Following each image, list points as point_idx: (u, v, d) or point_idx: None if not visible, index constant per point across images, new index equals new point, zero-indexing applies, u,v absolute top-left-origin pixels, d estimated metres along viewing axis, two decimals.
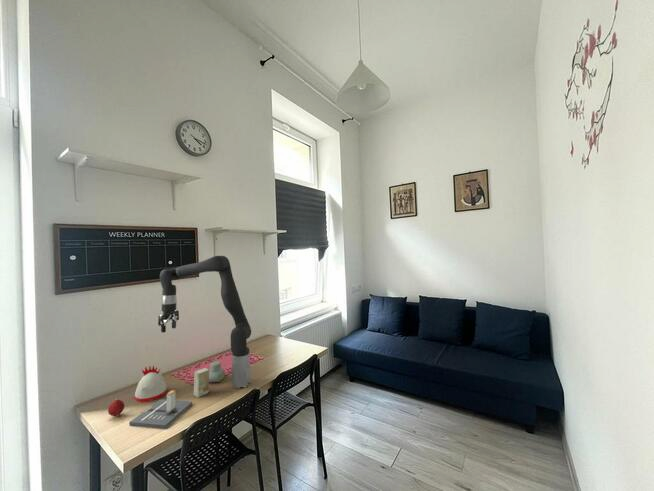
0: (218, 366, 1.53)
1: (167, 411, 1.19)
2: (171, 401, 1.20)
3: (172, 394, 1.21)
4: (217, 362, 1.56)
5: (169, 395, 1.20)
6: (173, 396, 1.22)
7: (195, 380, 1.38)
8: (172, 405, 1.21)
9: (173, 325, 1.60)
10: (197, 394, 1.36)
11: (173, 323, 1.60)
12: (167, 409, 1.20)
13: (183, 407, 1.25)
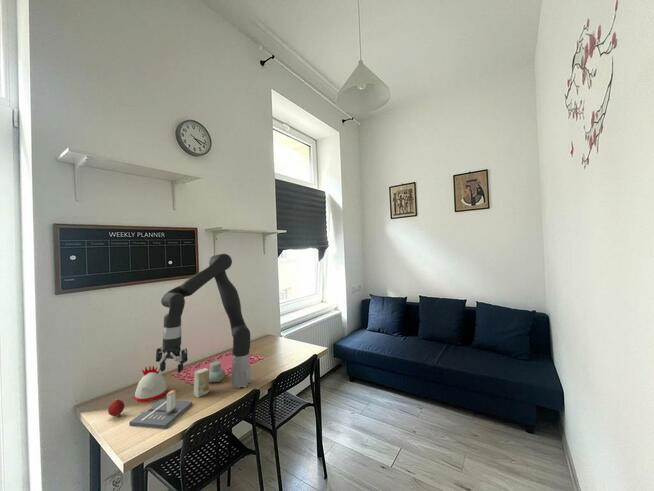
0: (218, 366, 1.53)
1: (167, 411, 1.19)
2: (171, 401, 1.20)
3: (172, 394, 1.21)
4: (217, 362, 1.56)
5: (169, 395, 1.20)
6: (173, 396, 1.22)
7: (195, 380, 1.38)
8: (172, 405, 1.21)
9: (163, 367, 1.23)
10: (197, 394, 1.36)
11: (163, 364, 1.23)
12: (167, 409, 1.20)
13: (183, 407, 1.25)
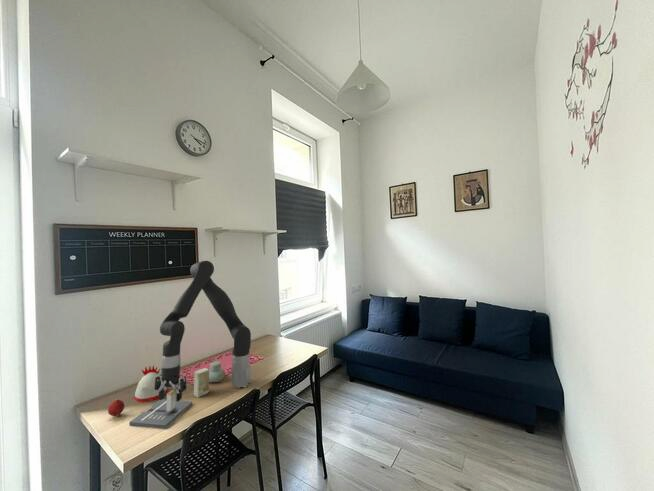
0: (218, 366, 1.53)
1: (167, 411, 1.19)
2: (171, 401, 1.20)
3: (172, 394, 1.21)
4: (217, 362, 1.56)
5: (169, 395, 1.20)
6: (173, 396, 1.22)
7: (195, 380, 1.38)
8: (172, 405, 1.21)
9: (162, 395, 1.22)
10: (197, 394, 1.36)
11: (162, 392, 1.22)
12: (167, 409, 1.20)
13: (183, 407, 1.25)
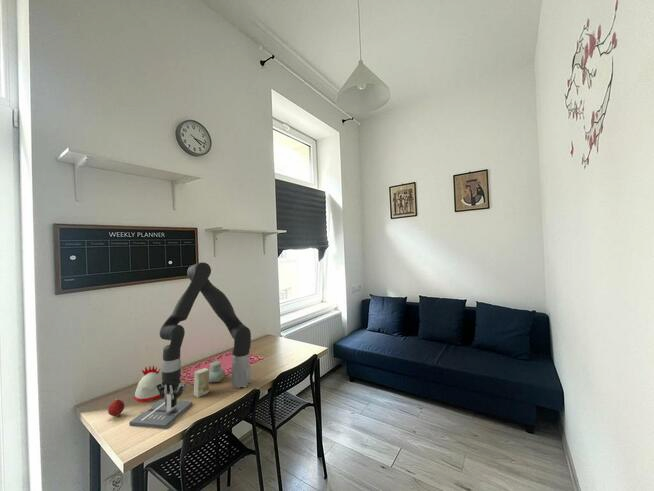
0: (218, 366, 1.53)
1: (167, 411, 1.19)
2: None
3: None
4: (217, 362, 1.56)
5: (169, 395, 1.20)
6: None
7: (195, 380, 1.38)
8: None
9: None
10: (197, 394, 1.36)
11: None
12: (167, 409, 1.20)
13: (183, 407, 1.25)
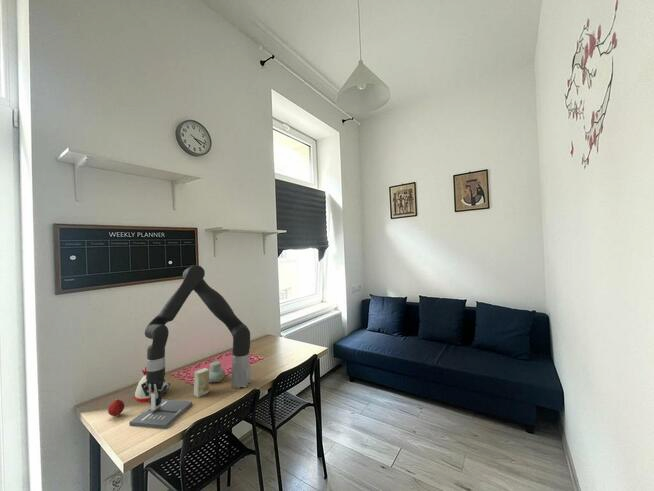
0: (218, 366, 1.53)
1: (151, 410, 1.20)
2: (155, 400, 1.21)
3: None
4: (217, 362, 1.56)
5: (153, 394, 1.21)
6: None
7: (195, 380, 1.38)
8: None
9: None
10: (197, 394, 1.36)
11: None
12: (151, 408, 1.21)
13: (183, 407, 1.25)
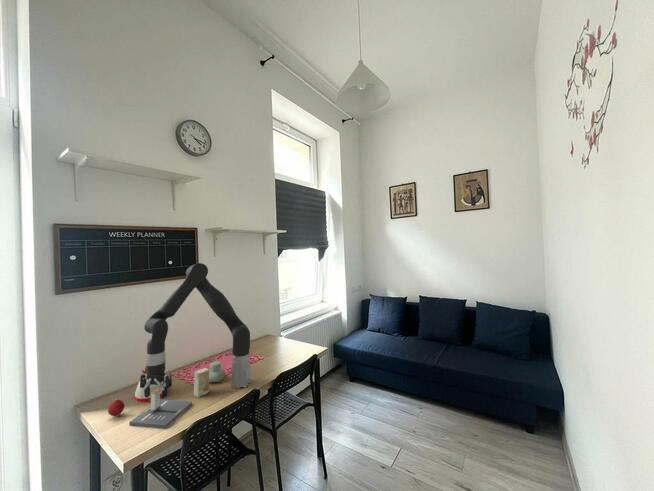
0: (218, 366, 1.53)
1: (151, 410, 1.20)
2: (155, 400, 1.21)
3: (156, 393, 1.22)
4: (217, 362, 1.56)
5: (153, 394, 1.21)
6: (157, 395, 1.23)
7: (195, 380, 1.38)
8: (157, 403, 1.22)
9: (148, 392, 1.23)
10: (197, 394, 1.36)
11: (148, 390, 1.23)
12: (151, 408, 1.21)
13: (183, 407, 1.25)
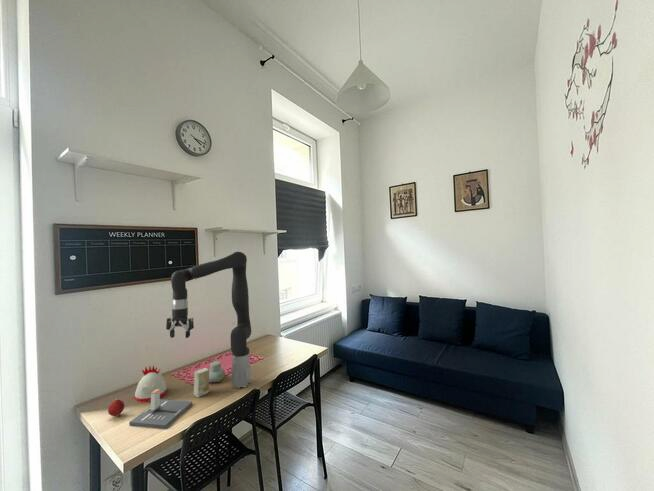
0: (218, 366, 1.53)
1: (151, 410, 1.20)
2: (155, 400, 1.21)
3: (156, 393, 1.22)
4: (217, 362, 1.56)
5: (153, 394, 1.21)
6: (157, 395, 1.23)
7: (195, 380, 1.38)
8: (157, 403, 1.22)
9: (173, 334, 1.43)
10: (197, 394, 1.36)
11: (173, 331, 1.44)
12: (151, 408, 1.21)
13: (183, 407, 1.25)
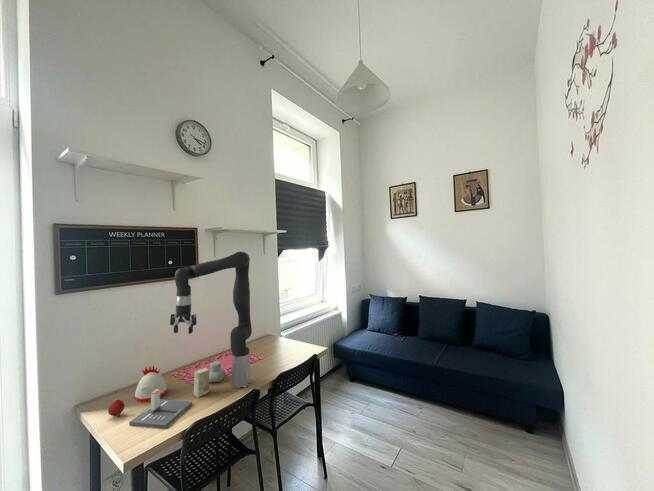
0: (218, 366, 1.53)
1: (151, 410, 1.20)
2: (155, 400, 1.21)
3: (156, 393, 1.22)
4: (217, 362, 1.56)
5: (153, 394, 1.21)
6: (157, 395, 1.23)
7: (195, 380, 1.38)
8: (157, 403, 1.22)
9: (176, 329, 1.47)
10: (197, 394, 1.36)
11: (176, 327, 1.47)
12: (151, 408, 1.21)
13: (183, 407, 1.25)
